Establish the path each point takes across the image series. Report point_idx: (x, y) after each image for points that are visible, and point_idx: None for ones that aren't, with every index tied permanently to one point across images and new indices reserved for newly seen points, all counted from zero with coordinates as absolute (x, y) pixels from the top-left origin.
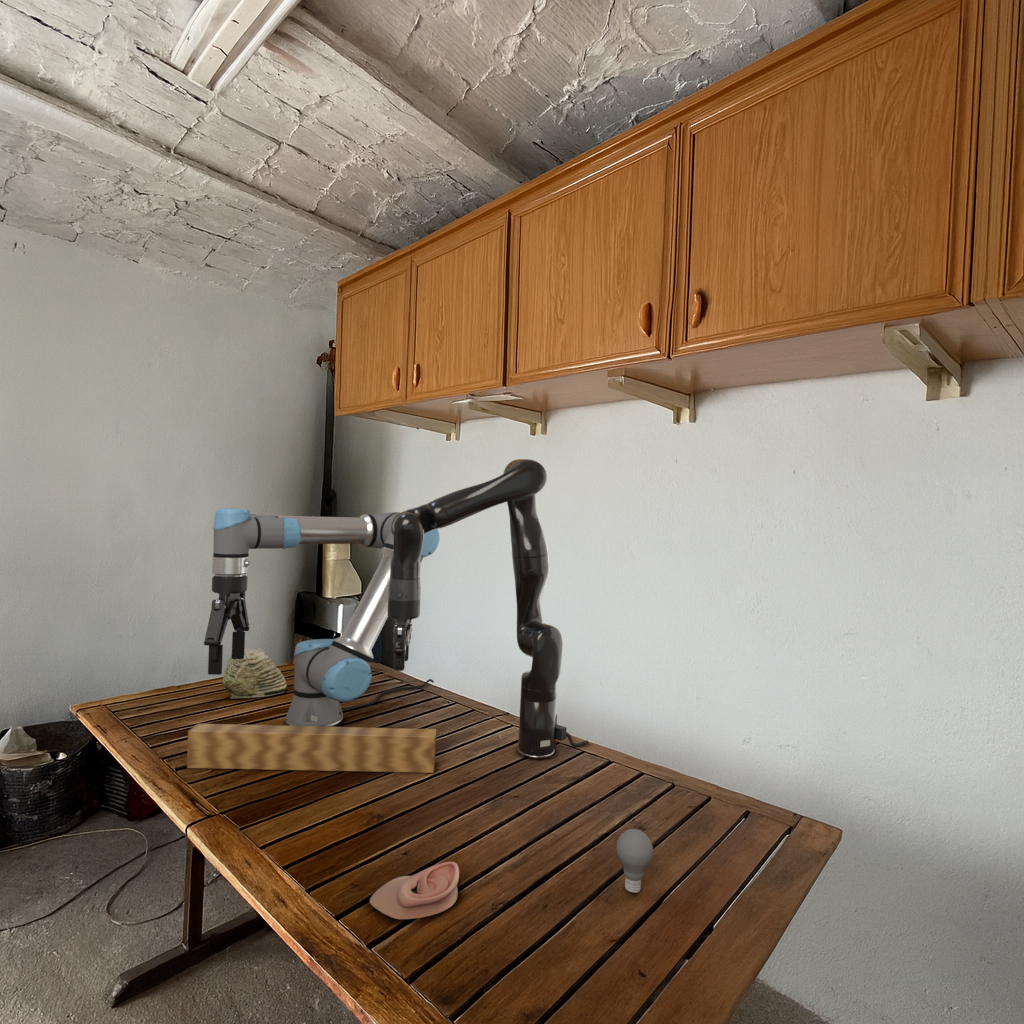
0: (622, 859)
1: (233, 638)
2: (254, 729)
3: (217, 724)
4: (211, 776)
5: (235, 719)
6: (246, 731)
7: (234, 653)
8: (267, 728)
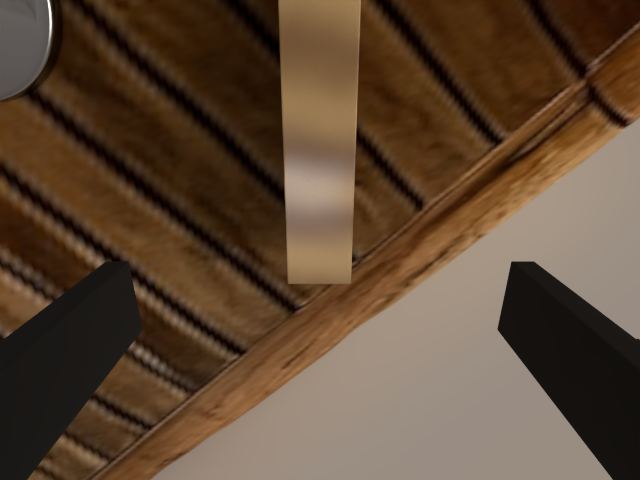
0: None
1: (45, 445)
2: (327, 90)
3: (290, 227)
4: (387, 173)
5: (29, 252)
6: (346, 112)
7: (121, 336)
8: (313, 44)
